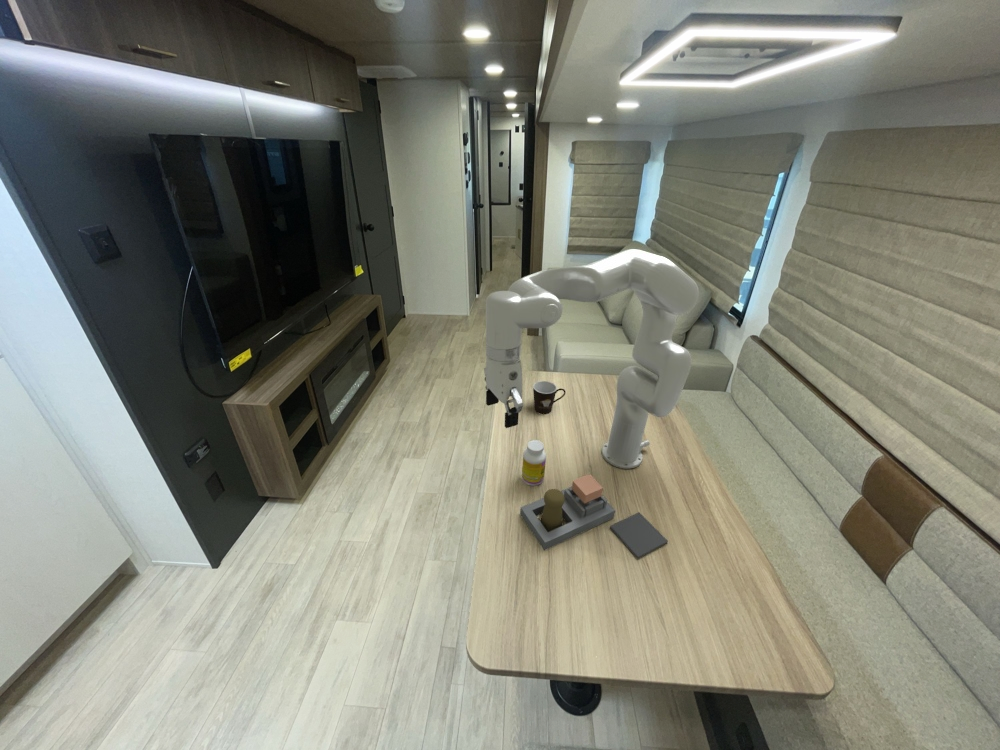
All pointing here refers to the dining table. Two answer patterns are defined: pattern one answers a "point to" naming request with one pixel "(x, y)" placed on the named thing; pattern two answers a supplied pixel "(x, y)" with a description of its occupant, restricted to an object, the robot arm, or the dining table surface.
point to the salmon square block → (587, 488)
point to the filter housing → (567, 518)
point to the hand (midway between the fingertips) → (501, 414)
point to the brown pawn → (552, 510)
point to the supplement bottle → (533, 463)
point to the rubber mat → (638, 535)
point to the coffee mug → (545, 396)
